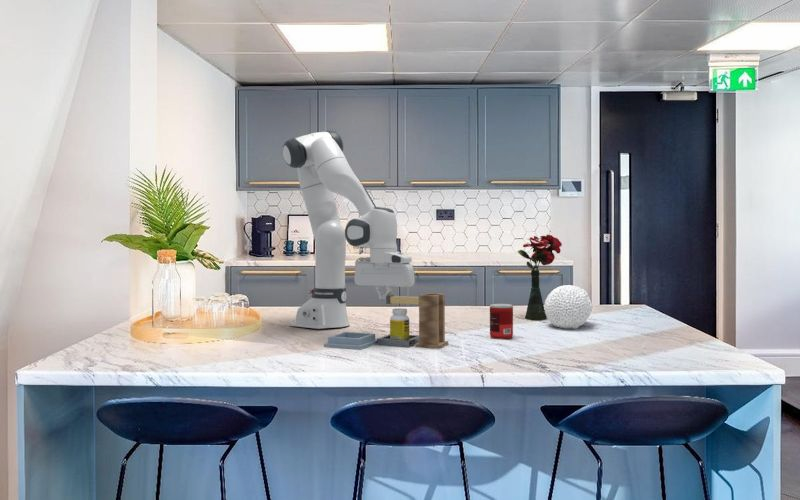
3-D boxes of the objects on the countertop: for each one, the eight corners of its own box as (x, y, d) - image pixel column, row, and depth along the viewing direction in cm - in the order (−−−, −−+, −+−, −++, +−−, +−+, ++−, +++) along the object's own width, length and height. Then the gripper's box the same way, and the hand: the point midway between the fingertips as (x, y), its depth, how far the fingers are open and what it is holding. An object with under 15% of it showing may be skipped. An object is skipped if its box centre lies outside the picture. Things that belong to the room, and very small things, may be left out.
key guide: (415, 346, 188) (415, 295, 188) (424, 342, 195) (424, 293, 195) (439, 348, 185) (439, 296, 185) (448, 344, 192) (448, 293, 192)
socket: (376, 345, 192) (376, 338, 192) (391, 339, 202) (391, 333, 202) (409, 347, 187) (409, 340, 187) (422, 341, 197) (422, 335, 197)
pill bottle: (407, 345, 191) (407, 310, 191) (388, 344, 192) (388, 309, 192) (411, 342, 197) (411, 308, 197) (392, 341, 198) (392, 307, 198)
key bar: (386, 303, 194) (386, 295, 194) (391, 302, 198) (391, 294, 198) (418, 305, 190) (418, 296, 190) (422, 304, 193) (422, 295, 193)
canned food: (515, 336, 208) (515, 304, 208) (509, 339, 201) (509, 306, 200) (493, 334, 211) (493, 303, 211) (487, 338, 204) (486, 305, 204)
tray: (323, 346, 189) (323, 337, 189) (343, 340, 201) (343, 331, 201) (361, 349, 184) (361, 339, 184) (379, 342, 196) (379, 333, 196)
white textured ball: (583, 334, 212) (583, 287, 212) (535, 330, 221) (535, 285, 221) (598, 327, 229) (598, 283, 228) (552, 323, 238) (552, 281, 238)
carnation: (509, 320, 248) (509, 234, 248) (550, 318, 252) (550, 234, 252) (525, 325, 233) (525, 234, 232) (569, 323, 237) (569, 234, 237)
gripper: (350, 257, 197) (351, 300, 197) (408, 257, 189) (408, 302, 189) (359, 256, 203) (360, 298, 203) (416, 257, 195) (416, 300, 195)
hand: (384, 300), depth 196 cm, fingers closed
